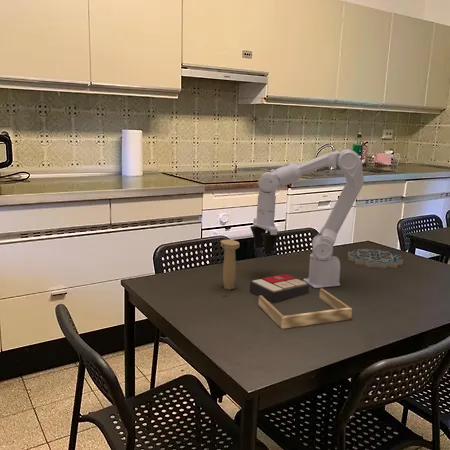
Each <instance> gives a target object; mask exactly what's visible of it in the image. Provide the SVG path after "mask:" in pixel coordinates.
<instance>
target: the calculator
mask: <svg viewBox="0 0 450 450" xmlns="http://www.w3.org/2000/svg"><path fill="white" fill-rule="evenodd" d="M309 288H310V284H308V283H307V282H305V281H304V280H301V279H298V278H295V277H293V276H291V275H288V274H286V273H285V274H284V273H282V274H278V275H273V276H267V277H262V278H260V279H259V278H258V279H254V280H251V281H250V282H249V293H251V294H253V295H255V296H257V297H259V295H262V296H263V297H264V298H265V299H266V300H267V301H268V302H269V303H270V304H276V303H280V302H282V301H284V300H288V299H292V298H296V297H299V296H303V295H306V294H309V290H310V289H309Z"/></svg>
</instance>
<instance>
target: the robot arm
mask: <svg viewBox="0 0 450 450" xmlns="http://www.w3.org/2000/svg"><path fill="white" fill-rule="evenodd" d="M337 166H338V167H339V169H340V170H341V171H342V172H343V176H344V178H345V181H346V183H345V184H344V187H343V188H342V191H341V192H340V194H339V196H338V198H337V200H336V202H335V205H334V206H333V208H332V209H331V212H330V214H329V216H328V218H327V219H326V222H325V223H324V225H323V226H322V228H321V229H320V231H319V233H318V234H316V235H315V236H314V237H313V238H312V241H311V246H312V253H310V254H309V268H308V277H307V278H306V277H305V278H303V280H302V281H303V282H306V283H307V284H308V285H309V286H311V287H313V288H314V289H321V288H322V289H323V288H329V287H338V286H341V283H340V278H341V276H340V275H341V261H340V259H339V257H337V256H336V255H335V256H334V255H333V252H334V245H335V243H336V240H337V235H338V234H339V231H340V230H341V229H342V226H343V224H344V222H345V220H346V218H347V217H348V215H349V213H350V211H351V209H352V207H353V205H354V203H355V201H356V199H357V197H358V196H359V194H360V191H361V190H362V188H363V186H364V184H365V179H364V171H363V162H362V160H361V158H360V156H359V153H357V152H356V151H354V150H353V149H351V148H342V149H340V150H334V151H332V152H330V151H329V152H327V153H324V154H322V155H319V156H317V157H316V158H312V159H310V160H308V161H305V162H303V163H301V164H295V163H289V162H287V163H284V166H280V167H278V168H276V169H274V168H272V169H270V171H267V172H264V173H262V174H261V176H260V177H259V178H258V183H257V185H258V187H259V189H258V191H257V193H258V196H257V204H256V205H257V206H256V218H253V223H252V225H250V227H249V228H250V230H251V233H252V236H253V241H254V246H255V248H257V249H258V248H263V252H264V255H272V253H273V249H274V247H275V244H276V242H277V241H278V239H279V238H280V236H281V235H280V233H278V228H277V227H276V225H275V213H276V201H277V200H276V199H277V198H276V197H277V196H276V189H277V187H279V188H281V187H284V186H287V185H290V184H292V183H295V182H298V181H300V179H301V177H302V175H305V174H308V173H310V172H314V171H316V170H319V169H322V168H326V167H328V168H333V169H336V168H337Z"/></svg>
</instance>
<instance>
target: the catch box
mask: <svg viewBox="0 0 450 450" xmlns="http://www.w3.org/2000/svg"><path fill="white" fill-rule="evenodd" d="M318 298H319V300H321V301H323V302H324V303H325V304H327V305H328V306H329V307H331V308H332V309H327V310H319V311H312V312H311V311H310V312H305V313H304V312H303V313H296V314H289V315H283V314H282V312H280V311H279V310H278V309H277V308H276V307H275V306H274V305H273V304H272V303H271V302H269V301H267V300H266V299H265V298H264V297H263V296H262V295H259V296H258V307H259V308H261V310H263V311H264V312H265V314H266V315H267V316H269V317H270V318H271V320H272V321H273V322H275V323H276V325H278V326H279V327H280V329H282V330H283V329H289V328H291V329H292V328H296V327H297V328H298V327H305V326H306V327H307V326H312V325H320V324H325V323H326V324H327V323H331V322H332V323H333V322H339V321H340V322H341V321H346V320H347V321H348V320H351V319H352V315H353V308H352V307H350V306H349V305H347V304H346V303H344V302H343V301H341V300H340V299H339V298H337V297H336V296H334V294H333V295H332V294H331V293H330V292H328V291H327V290H325V289H324V288H323V287H322V288H319V297H318Z"/></svg>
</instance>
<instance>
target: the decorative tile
mask: <svg viewBox="0 0 450 450" xmlns="http://www.w3.org/2000/svg"><path fill="white" fill-rule="evenodd" d="M347 257H348V261H352V262H355V264H356V265H363V266H366V267H367V268H380V269H388V268H398V266H401V265H403V264H404V258H402V255H401V254H398V253H394V252H393V251H391V250H384V249H381V248H369V247H365V248H354V250H348V251H347Z"/></svg>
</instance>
